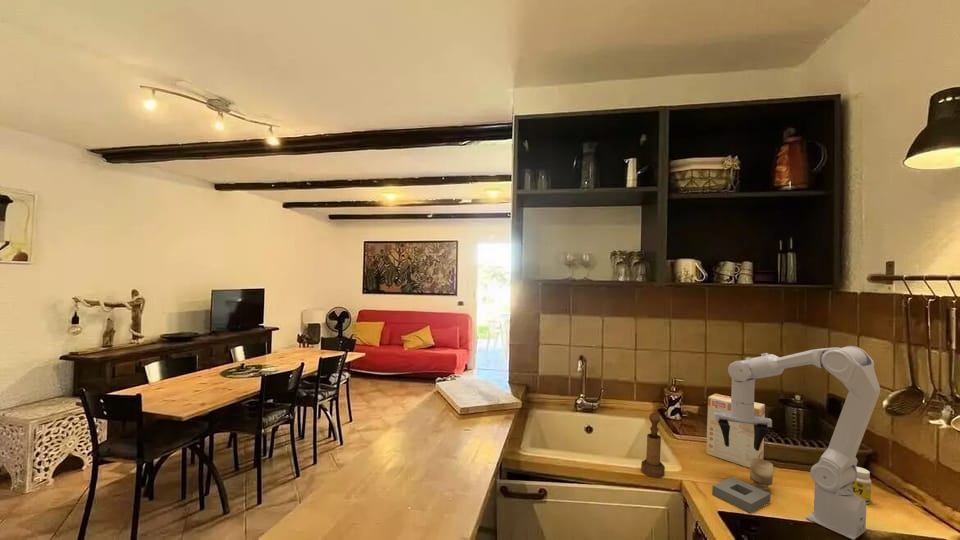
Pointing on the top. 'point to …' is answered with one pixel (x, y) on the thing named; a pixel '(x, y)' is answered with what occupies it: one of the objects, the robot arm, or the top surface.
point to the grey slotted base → (741, 494)
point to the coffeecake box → (732, 433)
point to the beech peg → (761, 473)
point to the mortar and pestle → (653, 451)
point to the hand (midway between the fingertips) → (741, 447)
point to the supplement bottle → (862, 484)
